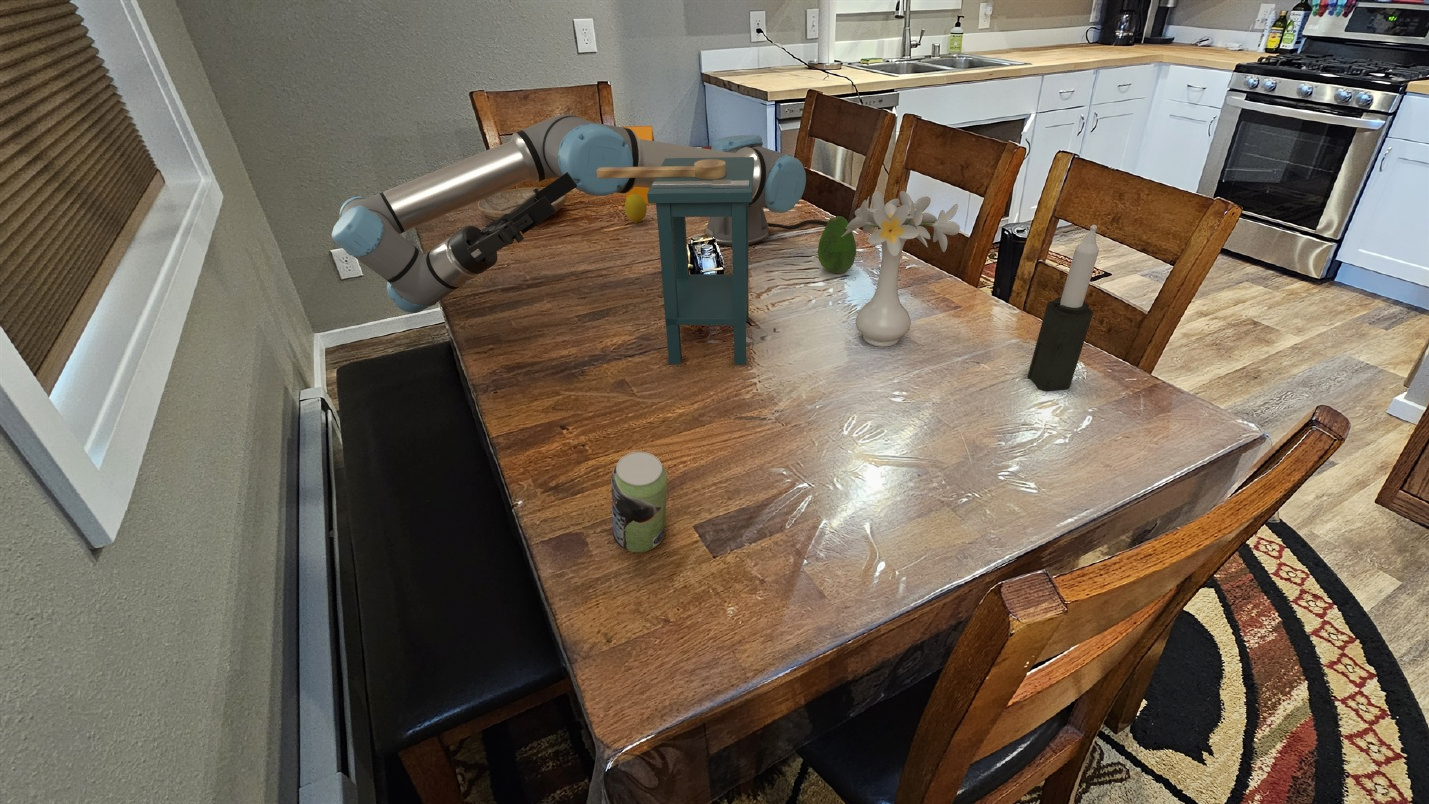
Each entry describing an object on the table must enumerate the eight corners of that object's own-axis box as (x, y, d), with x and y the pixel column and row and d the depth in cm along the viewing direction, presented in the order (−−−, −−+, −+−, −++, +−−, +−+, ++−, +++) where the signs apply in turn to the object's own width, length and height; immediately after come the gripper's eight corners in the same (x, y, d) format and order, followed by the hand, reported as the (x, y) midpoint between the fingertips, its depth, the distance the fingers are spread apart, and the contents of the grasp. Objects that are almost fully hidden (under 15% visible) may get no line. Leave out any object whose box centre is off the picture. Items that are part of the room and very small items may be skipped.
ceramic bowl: (586, 210, 183) (583, 191, 180) (524, 236, 166) (520, 216, 163) (526, 198, 193) (523, 181, 190) (462, 222, 177) (458, 204, 174)
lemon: (644, 227, 169) (641, 196, 164) (623, 227, 170) (620, 195, 165) (650, 220, 173) (647, 190, 169) (630, 220, 174) (627, 189, 170)
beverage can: (636, 513, 81) (626, 435, 74) (684, 536, 77) (678, 457, 71) (602, 544, 77) (587, 465, 70) (650, 571, 73) (640, 490, 66)
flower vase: (949, 344, 114) (977, 199, 100) (855, 364, 109) (870, 215, 95) (907, 313, 124) (927, 177, 110) (819, 330, 119) (828, 191, 105)
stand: (662, 367, 110) (647, 193, 94) (676, 314, 127) (664, 158, 110) (752, 368, 109) (752, 191, 93) (754, 314, 125) (754, 156, 109)
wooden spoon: (595, 181, 100) (593, 169, 99) (601, 172, 104) (600, 160, 103) (725, 179, 99) (724, 166, 98) (726, 170, 103) (726, 158, 102)
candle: (1024, 374, 105) (1066, 219, 91) (1055, 372, 105) (1101, 217, 91) (1040, 391, 100) (1086, 232, 87) (1072, 389, 101) (1124, 230, 87)
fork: (652, 189, 95) (651, 185, 95) (654, 184, 97) (654, 180, 97) (748, 188, 94) (748, 184, 94) (749, 183, 96) (749, 179, 96)
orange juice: (657, 204, 185) (650, 128, 174) (625, 205, 185) (617, 129, 174) (659, 195, 191) (653, 122, 180) (629, 196, 192) (621, 123, 181)
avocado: (831, 262, 146) (835, 208, 139) (861, 271, 141) (866, 216, 134) (808, 273, 141) (811, 218, 134) (838, 283, 136) (843, 226, 130)
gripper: (504, 247, 124) (592, 189, 117) (452, 304, 103) (556, 238, 96) (476, 213, 120) (566, 151, 113) (417, 265, 100) (522, 193, 93)
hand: (561, 191), depth 105 cm, fingers open, 13 cm apart
